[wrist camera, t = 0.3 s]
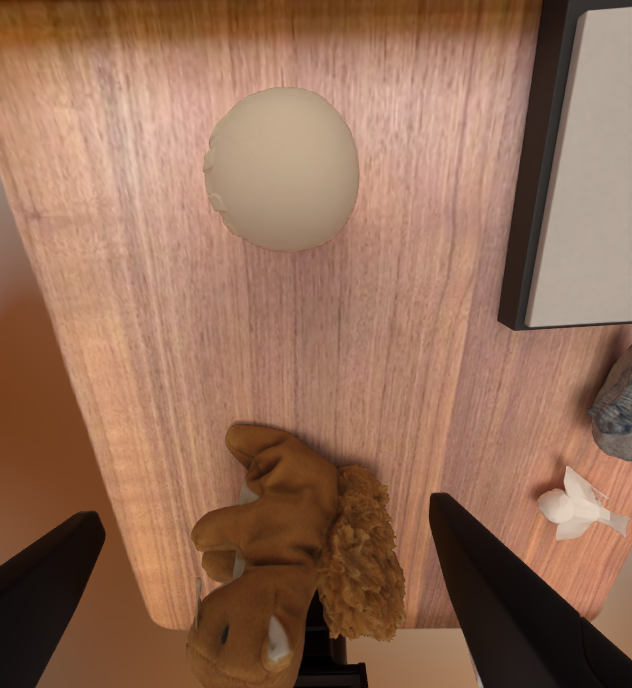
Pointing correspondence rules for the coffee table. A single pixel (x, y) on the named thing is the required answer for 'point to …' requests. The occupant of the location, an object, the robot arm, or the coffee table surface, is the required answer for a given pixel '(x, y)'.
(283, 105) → the beige round ball
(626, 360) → the fossil
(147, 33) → the coffee table surface
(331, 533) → the stuffed squirrel
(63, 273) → the coffee table surface
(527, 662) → the robot arm
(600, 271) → the kitchen scale
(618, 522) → the toy bird
